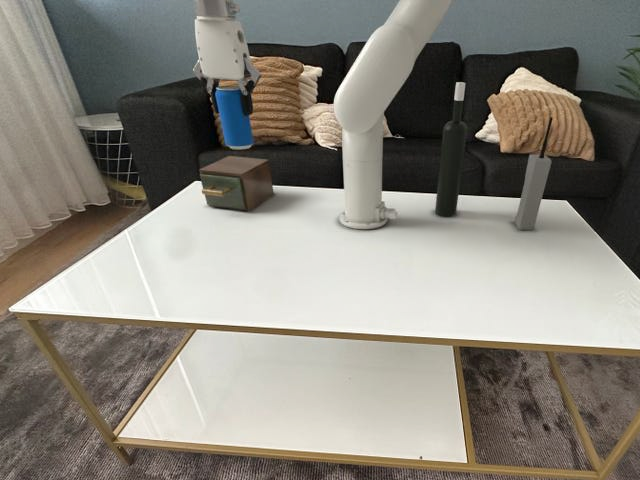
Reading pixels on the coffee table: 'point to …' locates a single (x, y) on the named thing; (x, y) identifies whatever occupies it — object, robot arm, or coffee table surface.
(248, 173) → the cabinet
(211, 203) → the drawer
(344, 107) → the robot arm
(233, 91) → the beverage can
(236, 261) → the coffee table surface
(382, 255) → the coffee table surface
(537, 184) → the vintage mobile phone
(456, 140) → the wine bottle
